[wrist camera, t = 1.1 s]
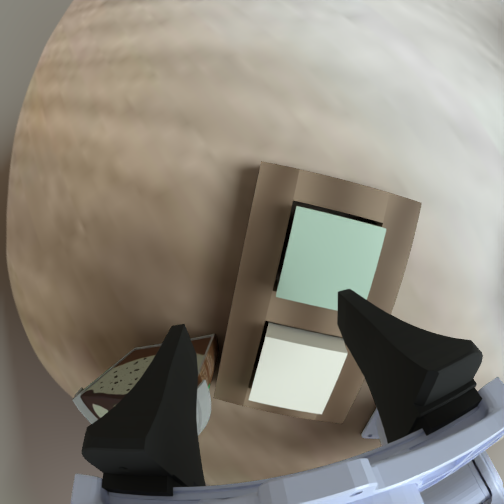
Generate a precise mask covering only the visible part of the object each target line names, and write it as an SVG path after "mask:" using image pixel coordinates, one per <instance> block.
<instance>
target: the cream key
mask: <svg viewBox="0 0 504 504" xmlns="http://www.w3.org/2000/svg"><path fill="white" fill-rule="evenodd" d="M347 354H348V353H347V349H346V346H345V343H344V340H343V338H340V337H334V336H329V335H324V334H320V333H315V332H310V331H305V330H301V329H296V328H292V327H287V326H283V325H278V324H274V323H270V322H269V324H268V328H267V331H266V335H265V339H264V343H263V347H262V351H261V355H260V358H259V362H258V366H257V370H256V373H255V377H254V381H253V384H252V388H251V392H250V396H249V400H250V401H254V402H259V403H263V404H268V405H272V406H277V407H282V408H287V409H292V410H298V411H303V412H309V413H316V414H322V413H323V411H324V408H325V406H326V404H327V402H328V400H329V397H330V395H331V393H332V391H333V388H334V386H335V384H336V381H337V379H338V377H339V374H340V372H341V369H342V367H343V364H344V362H345V359H346V357H347Z"/></svg>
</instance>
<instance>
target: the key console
mask: <svg viewBox="0 0 504 504" xmlns="http://www.w3.org/2000/svg"><path fill="white" fill-rule="evenodd" d="M293 200H294V201H298V202H303V203H307V204H311V205H315V206H319V207H324V208H328V209H332V210H336V211H340V212H344V213H348V214H352V215H355V216H359V217H363V218H367V219H370V220H372V224H373V225H377V226H380V227H383V228H386V233H385V237H384V241H383V245H382V249H381V253H380V256H379V260H378V264H377V267H376V271H375V274H374V278H373V281H372V284H371V288H370V291H369V294H368V297H367V300H368V301H369V302H371V303H372V304H374V305H375V306H377V307H378V308H380V309H382V310H383V311H385V312H387V313H389V314H390V315H391V312H392V309H393V307H394V304H395V301H396V298H397V295H398V292H399V288H400V285H401V282H402V279H403V275H404V272H405V269H406V265H407V262H408V258H409V254H410V251H411V247H412V243H413V239H414V235H415V231H416V226H417V222H418V218H419V213H420V208H421V203H420V202H417V201H414V200H411V199H408V198H405V197H402V196H398V195H395V194H392V193H388V192H385V191H382V190H378V189H375V188H371V187H368V186H364V185H361V184H357V183H353V182H350V181H346V180H342V179H338V178H334V177H330V176H326V175H322V174H318V173H313V172H309V171H305V170H300V169H296V168H291V167H287V166H282V165H277V164H272V163H267V162H262V161H261V165H260V169H259V174H258V179H257V184H256V188H255V193H254V198H253V203H252V208H251V212H250V217H249V222H248V227H247V232H246V237H245V242H244V246H243V251H242V256H241V261H240V266H239V271H238V276H237V281H236V286H235V291H234V296H233V301H232V306H231V311H230V316H229V321H228V326H227V331H226V336H225V341H224V346H223V352H222V357H221V362H220V367H219V372H218V377H217V383H216V388H215V393H214V398H215V399H219V400H222V401H226V402H230V403H234V404H238V405H242V406H246V407H250V408H254V409H258V410H263V411H267V412H272V413H277V414H282V415H287V416H293V417H298V418H304V419H310V420H317V421H324V422H331V423H339V424H343V422H344V420H345V418H346V416H347V414H348V412H349V410H350V408H351V406H352V404H353V402H354V400H355V398H356V396H357V394H358V392H359V390H360V388H361V386H362V384H363V381H364V379H365V377H364V375H363V374H362V372H361V370H360V368H359V367H358V365H357V363H356V361H355V359H354V358H353V356H352V354H351V352H350V351H349V349H348V347H347V345H346V344H345V346H346V349H347V353H348V354H347V357H346V359H345V362H344V364H343V367H342V369H341V372H340V374H339V377H338V379H337V381H336V384H335V386H334V388H333V391H332V393H331V395H330V397H329V400H328V402H327V404H326V406H325V408H324V411H323V413H322V414H316V413H309V412H303V411H298V410H292V409H287V408H282V407H277V406H272V405H268V404H263V403H259V402H254V401H250V400H249V396H250V392H251V388H252V384H253V381H254V377H255V373H256V370H253V367H254V363H255V359H256V356H257V352H258V348H259V344H260V340H261V336H262V332H263V328H264V324H265V321H270V322H274V323H278V324H283V325H287V326H291V327H296V328H301V329H305V330H310V331H315V332H319V333H324V334H329V335H334V336H339V337H340V338H343V337H342V335H341V332H340V330H339V327H338V325H337V316H338V311H337V310H332V309H327V308H323V307H318V306H314V305H309V304H305V303H300V302H296V301H291V300H287V299H283V298H279V297H276V292H277V288H278V283H279V281H277V280H275V279H276V275H277V270H278V266H279V262H280V257H281V253H282V249H283V244H284V240H285V235H286V231H287V227H288V222H289V218H290V213H291V208H292V204H293ZM344 343H345V342H344Z"/></svg>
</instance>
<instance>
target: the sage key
mask: <svg viewBox="0 0 504 504" xmlns="http://www.w3.org/2000/svg"><path fill="white" fill-rule="evenodd" d="M385 233H386V228H383V227H380V226H377V225H373V224H369V223H366V222H362V221H358V220H354V219H350V218H346V217H342V216H338V215H334V214H330V213H326V212H322V211H318V210H314V209H310V208H305V207H301V206H297V205H296V209H295V214H294V219H293V223H292V227H291V232H290V236H289V241H288V245H287V249H286V254H285V258H284V262H283V267H282V271H281V275H280V279H279V283H278V288H277V292H276V297H279V298H283V299H287V300H291V301H296V302H300V303H305V304H309V305H314V306H318V307H323V308H327V309H332V310H337V311H338V291H342V290H346V289H351V290H353V291H354V292H356V293H357V294H359V295H360V296H362V297H363V298H365V299H366V300H367V297H368V294H369V291H370V288H371V284H372V281H373V278H374V274H375V271H376V267H377V264H378V260H379V256H380V253H381V249H382V245H383V241H384V237H385Z"/></svg>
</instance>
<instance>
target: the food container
mask: <svg viewBox="0 0 504 504" xmlns="http://www.w3.org/2000/svg"><path fill="white" fill-rule="evenodd" d="M190 339H191V342H192V344H193V347H194V349H195V352H196V354H197V365H198V386H197V407H196V421H197V433H198V435H199V434H200V433H201V432H202V430H203V429H204V428H205V426H206V425H207V423H208V421H209V418H210V413H211V398H210V392H209V387H210V384H211V380H212V377H213V374H214V371H215V367H216V364H217V360H218V351H219V349H218V342H217V338H216V335H215V334H211V335H206V336H201V337H195V338H190ZM161 345H162V344H156V345H150V346H144V347H137V348H134V349H132V350H131V351H130V352H129V353H127V354H126V355H125V356H124V357H123V358H121V359H120V360H119V361H118V362H117V363H115V364H114V365H113V366H112V367H110V368H109V369H108V370H107V371H106V372H104V373H103V374H102V375H101V376H100V377H98V378H97V379H96V380H95V381H94V382H92V383H91V384H90V385H89V386H87V387H86V388H85V389H83V388H81V389H80V390H79V391H78V392H77V393H76V395H75V397H74V398H73V399H72V400H73V402H74V403H75V405H76V407H77V408H78V409H79V411H81V413H82V414H83V415H84V417H85V418H86V419H87V420H88V421H89V422H90V423H91V424H93V423H94V422H95V421H97V420H98V419H100V418H101V417H102V416H104V415H105V414H106V413H107V412H109V411H110V410H111V409H112V408H113V407H114V406H115V405H117V404H118V403H119V402H120V401H121V400H122V399H123V398H124V397H125V395H126V394H127V393H128V392H129V391H130V390H131V389H132V388H133V387H134V386H135V384H136V383H137V382H138V381H139V379H140V378H141V377H142V375H143V374H144V372H145V371H146V369H147V368H148V366H149V365H150V363H151V362H152V360H153V358H154V357H155V355H156V353H157V352H158V350H159V348H160V346H161Z"/></svg>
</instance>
